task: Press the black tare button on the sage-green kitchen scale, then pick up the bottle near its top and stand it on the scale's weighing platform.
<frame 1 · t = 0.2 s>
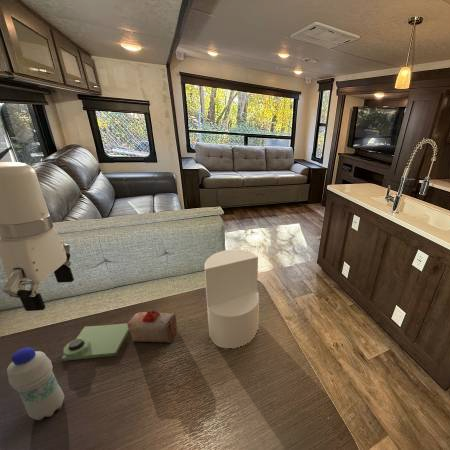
hand: (52, 294, 56), 30 cm above the table, tool pointing down, fingers open, 9 cm apart
food item: (155, 336, 84), on the table
cylinder: (234, 328, 90), on the table
scale: (100, 341, 80), on the table
bottle: (49, 409, 61), on the table
tare button: (76, 344, 74), point 3 cm above the table, slide at 0.1 cm
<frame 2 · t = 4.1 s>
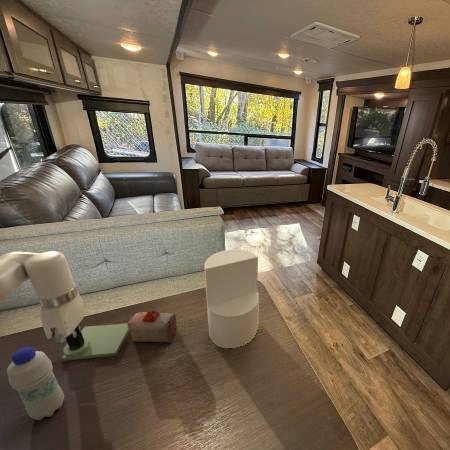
hand: (76, 343, 74), 4 cm above the table, tool pointing down, fingers closed
tare button: (76, 346, 74), point 3 cm above the table, slide at -0.5 cm, touching gripper
everything else where it was.
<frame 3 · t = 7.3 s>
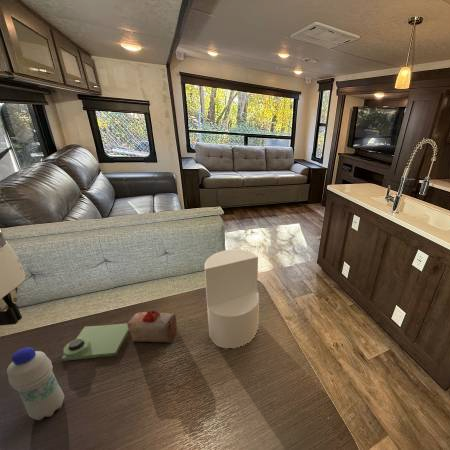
hand: (10, 321, 51), 28 cm above the table, tool pointing down, fingers closed
tare button: (76, 344, 74), point 3 cm above the table, slide at 0.1 cm
everything else where it was.
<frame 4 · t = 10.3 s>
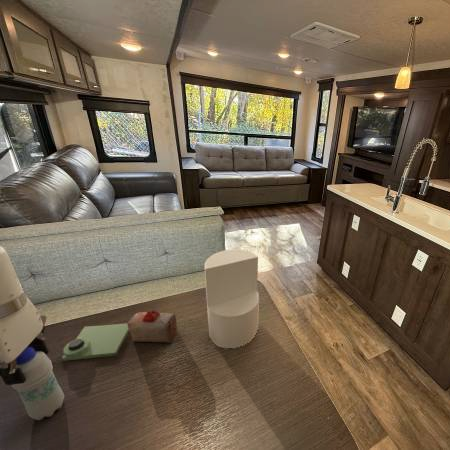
hand: (28, 367, 55), 15 cm above the table, tool pointing down, fingers closed on bottle, 6 cm apart
bottle: (49, 409, 61), on the table, touching gripper
everything else where it was.
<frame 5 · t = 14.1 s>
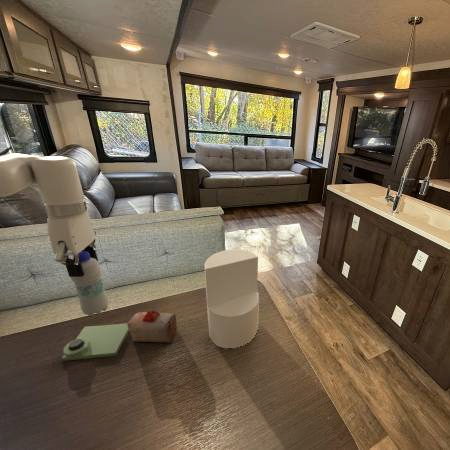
hand: (84, 268, 68), 28 cm above the table, tool pointing down, fingers closed on bottle, 6 cm apart
bottle: (97, 310, 74), point 13 cm above the table, touching gripper
everything else where it was.
when the fingers open (16 cm above the table, at t = 18.1 s): bottle stays where it is, resting on scale.
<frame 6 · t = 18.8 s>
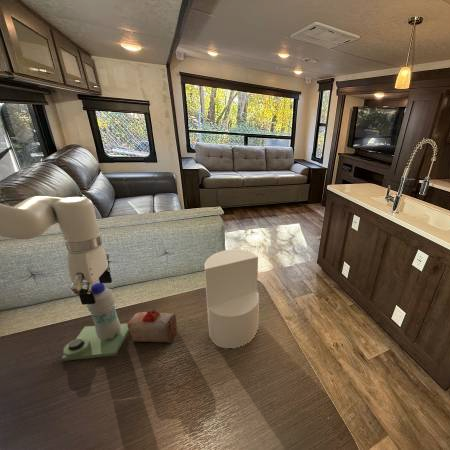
hand: (98, 292, 74), 18 cm above the table, tool pointing down, fingers open, 9 cm apart
bottle: (110, 335, 81), point 1 cm above the table, touching scale
everything else where it was.
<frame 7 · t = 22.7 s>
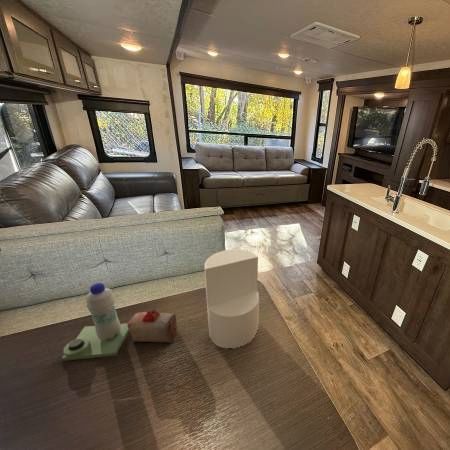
nothing on the table moved.
at the end: tare button pushed in 1.1 cm at the most during the clip, back to where it started at the end; bottle 0.1 cm from the target spot on the scale, point 1.0 cm above the scale's base; bottle tilted 0° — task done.
